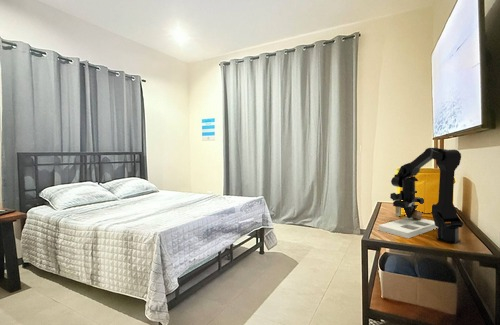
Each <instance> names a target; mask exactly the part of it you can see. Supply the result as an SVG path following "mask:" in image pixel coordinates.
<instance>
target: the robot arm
mask: <svg viewBox="0 0 500 325" xmlns="http://www.w3.org/2000/svg"><path fill="white" fill-rule="evenodd" d="M432 160H434V161H435V164H436V166H437V167H438V169H439V180H438V181H439V185H438V199H437V200H438V201H437V203H436V204H435V203H433V205H432V212H431V213H433V214H431V215H432V218H433V221H434V223H435V226H437V227H438V228H437V229H436V230H437V233H436V234H437V235H436V236H437V237H436V241H441V242H444V243H448V244H452V245H455V244H457V243H460V242H461V240H462V239H460V238H459V237H460V236H459V235H460V232H459V231H460V230H459V229H460V228H463V226H464V222H463V220H462V219H461V218H460V216H458V213H457V211H458V210H457V208H456V206H455V205H454V203H453V201H454V186H455V172H456V170H457V168H458V167H459V166H460V164H461V160H462V154H461V152H460V151H459V150H458V149H445V148H444V149H443V148H439V147H427V148H425V150H424V151H423V152H422V153H420V154H419V156H417V157H416V158H415V159H413V160H412V161H410V162H408V163H405V164H403V165H401V166H400V168H399V170H398V172H397V174H394V175H393V177H392V179H391V180H390V182H391V186H394V187H398V188H402V189H401V190H400V191H399V193H396V192H392V193H390V197H389V198H390V200H392V201H393V202H392V206H393V207H395V206H396V207H401V208H404V210H405V213H406V215H407V216H406V218H411V216H412V214H413V213H414V211H415V209H416V208H417V206H418V205H415V202H419V203H420V204H423V203H424V199H423V198H420V197H415V193H417V191H416V182H419V179H418V178H417V177H416V176H417V175H418V174H419V173H420V172H421V170H420V169H421V168H423V167H424V166H425V165H426V164H428V163H430V162H431V161H432ZM395 200H396V201H395ZM401 200H403V201H401ZM396 207H395V208H396Z"/></svg>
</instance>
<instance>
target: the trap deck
mask: <svg viewBox="0 0 500 325" xmlns="http://www.w3.org/2000/svg"><path fill="white" fill-rule="evenodd" d="M377 226H378V231H380V232H384V233H387V234H391V235H394V236H398V237H401V238H405V239H411V238H413V237H416V236H419V234H420V235H422V234H425V233H427V232H428V233H429V232H430V231H434V230H437V229H438V227H437V226H435V223H434V220H431V219H426V218H422V217H421V220H417V219H413V218H407V217H403V218H400V219H396V220H392V221H390V222H386V223H383V224H382V223H381V224H378V225H377ZM436 228H437V229H436ZM433 229H434V230H433Z"/></svg>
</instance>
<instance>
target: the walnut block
mask: <svg viewBox="0 0 500 325" xmlns="http://www.w3.org/2000/svg"><path fill="white" fill-rule="evenodd" d="M423 214H424V213H422V212H420V211H417V210H415V211H414V213H413V214H412V216H411V218H413V219H417V220H421V218H422V217H423Z"/></svg>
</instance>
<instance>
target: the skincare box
mask: <svg viewBox="0 0 500 325" xmlns="http://www.w3.org/2000/svg"><path fill="white" fill-rule="evenodd" d="M395 201H396V200H395ZM394 208H395V216H397V217H399V216H401V207H396V206H394Z"/></svg>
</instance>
